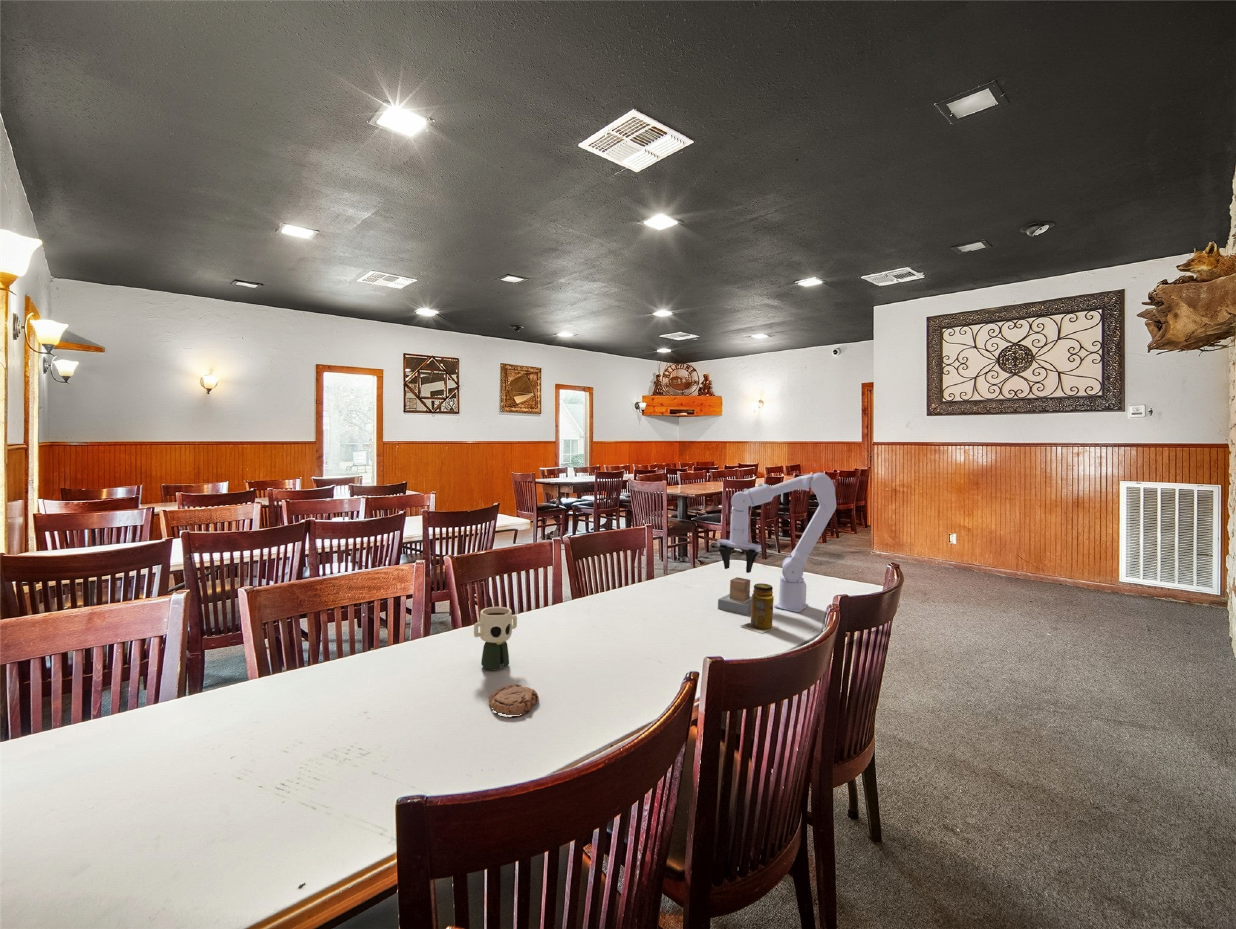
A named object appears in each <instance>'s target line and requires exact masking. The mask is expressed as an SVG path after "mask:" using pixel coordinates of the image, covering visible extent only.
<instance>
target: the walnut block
mask: <svg viewBox="0 0 1236 929" xmlns="http://www.w3.org/2000/svg"><path fill="white" fill-rule="evenodd" d="M729 583H730V584H729V594H730V599H733V600H737V601H742V602H744V601H746V600H748V599H750V595H751V579H747V578H743V577H738V576H737V577H734V578H731V579H730V582H729Z"/></svg>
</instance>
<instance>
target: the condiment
mask: <svg viewBox="0 0 1236 929" xmlns="http://www.w3.org/2000/svg"><path fill="white" fill-rule="evenodd" d="M752 592H753V593H752V594H751V597H752V605H751V614H750V622H747V623H745V624H741V625H740V627H742V628H745V629H747V630H751V631H752V632H756V633H761V634H763V633H766V632H768V631H772V630H774V629H776V628H778V627H779V626H778V625H774V624H773V621H774V620H773V615H774V595H773V586H772V585H771V584H768V583H755V584H754V585H753V590H752Z"/></svg>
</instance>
